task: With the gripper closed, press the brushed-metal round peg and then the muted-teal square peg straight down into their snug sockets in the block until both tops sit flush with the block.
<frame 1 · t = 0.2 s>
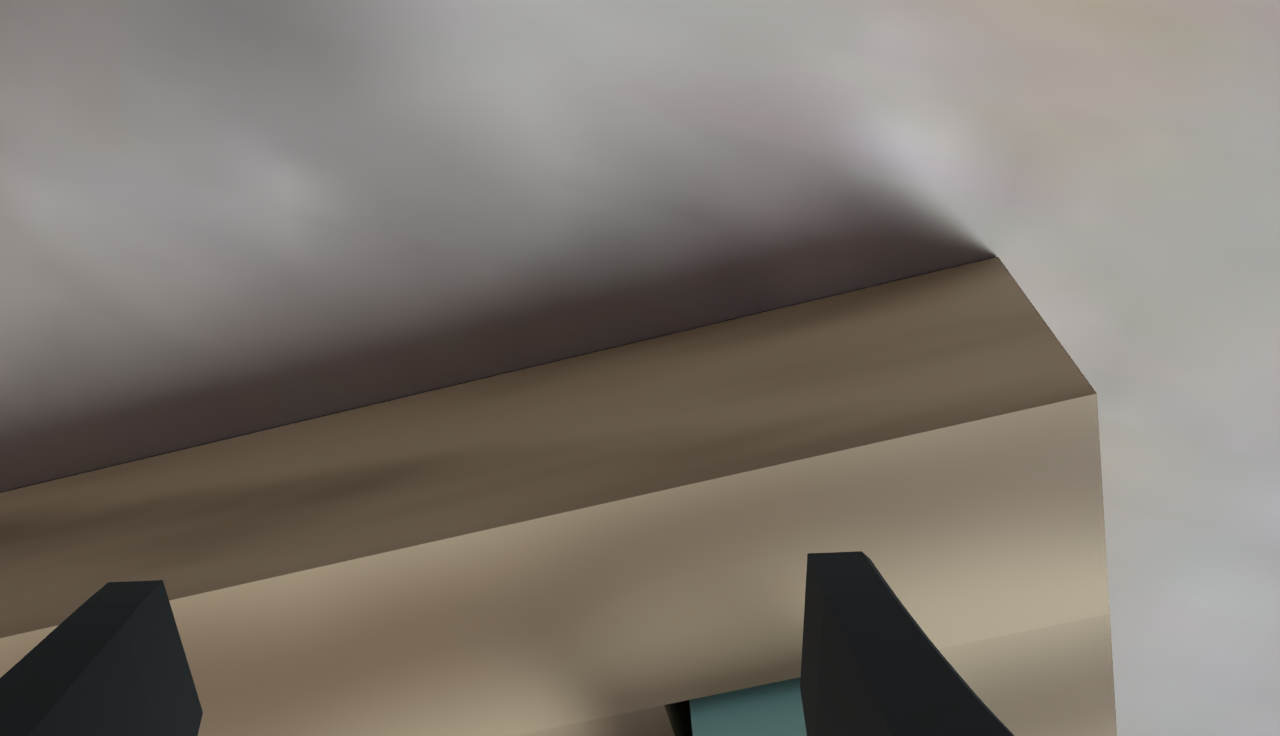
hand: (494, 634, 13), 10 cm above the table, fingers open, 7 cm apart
socket block: (546, 639, 26), on the table
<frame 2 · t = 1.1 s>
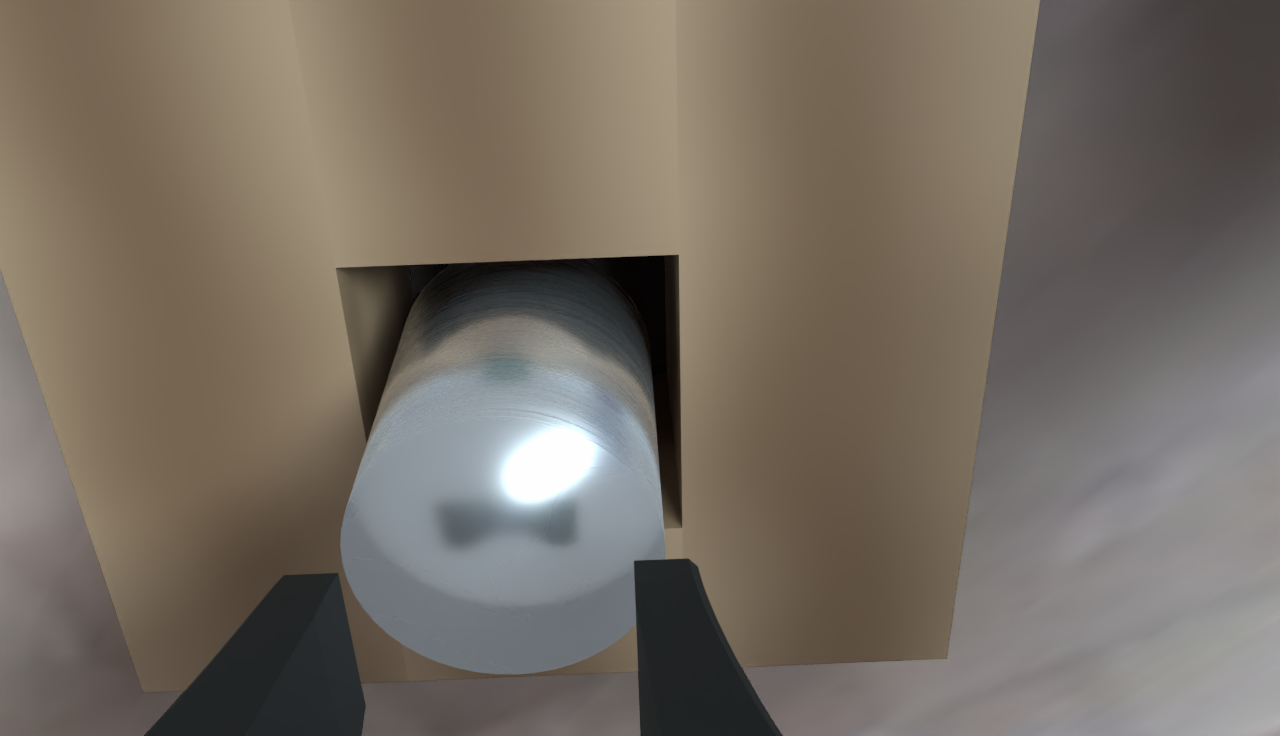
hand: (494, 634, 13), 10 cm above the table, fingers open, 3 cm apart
peg round: (517, 443, 16), point 6 cm above the table, slide at 3.5 cm
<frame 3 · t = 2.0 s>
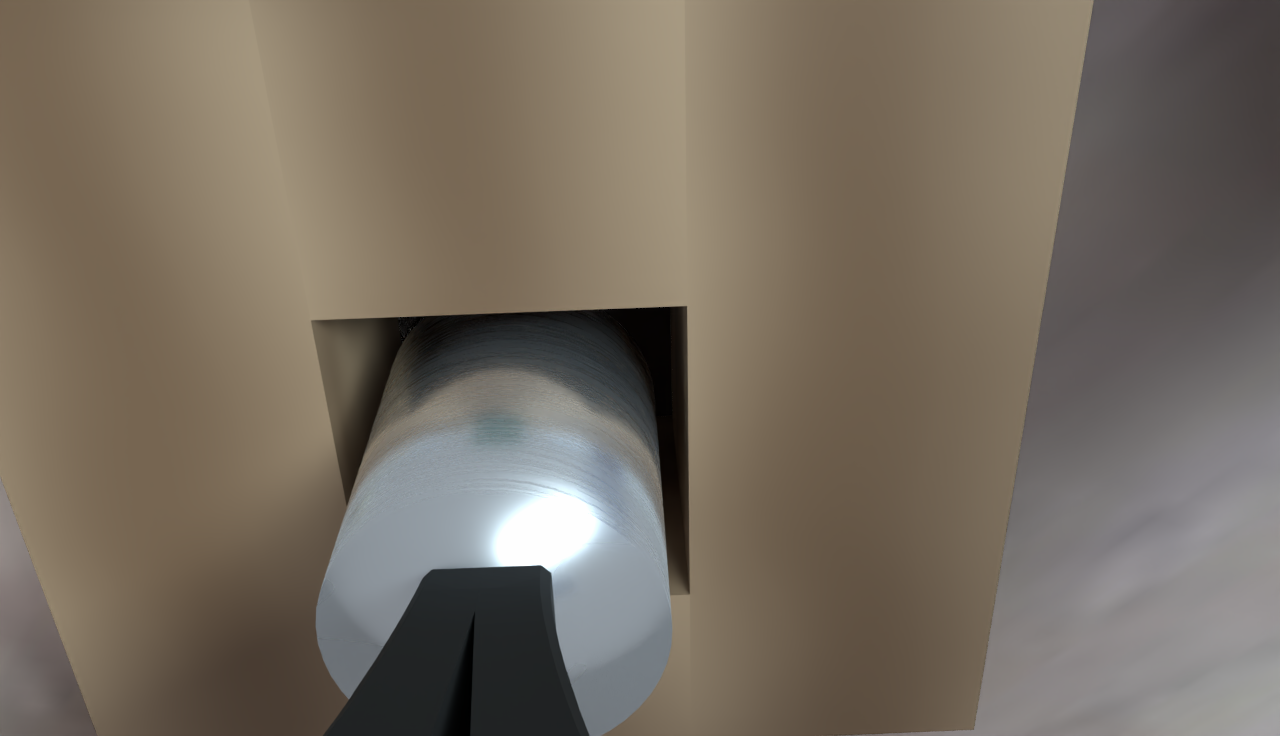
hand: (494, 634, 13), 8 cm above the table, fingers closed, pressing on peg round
peg round: (510, 503, 15), point 6 cm above the table, slide at 3.3 cm, touching gripper
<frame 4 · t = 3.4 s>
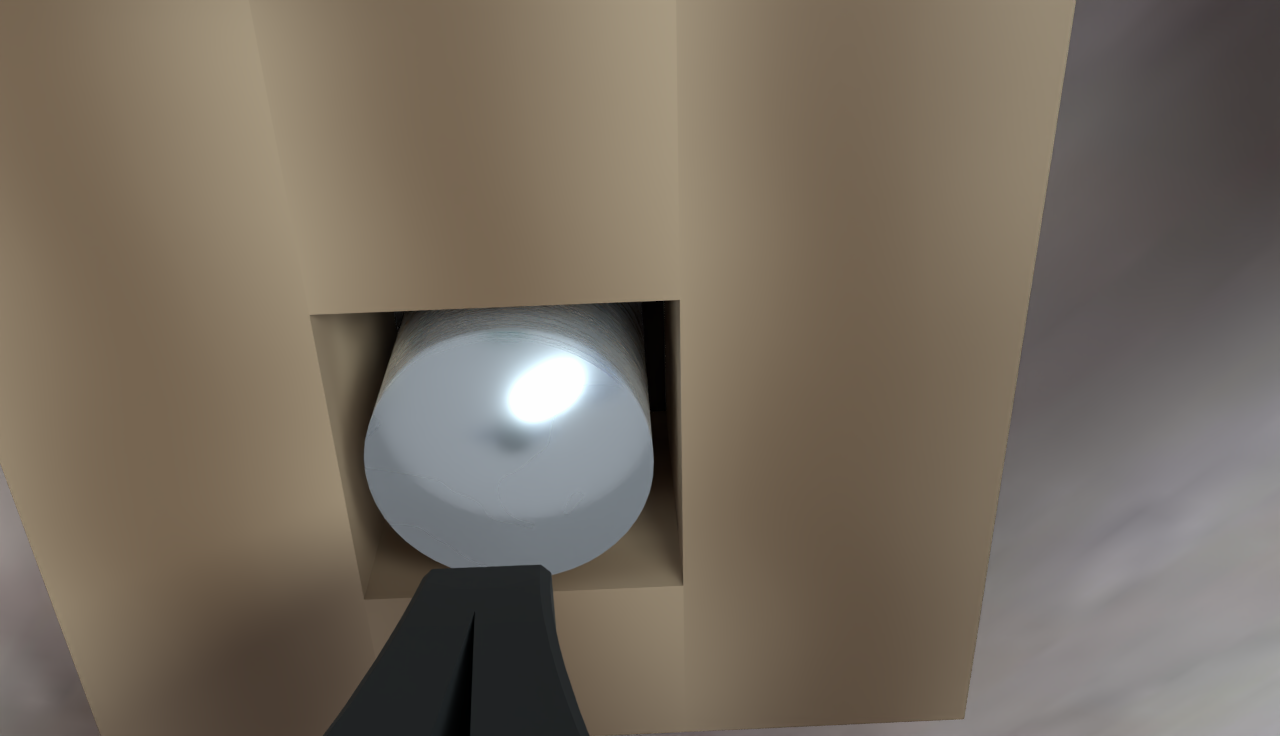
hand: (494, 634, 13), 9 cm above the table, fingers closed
peg round: (520, 376, 18), point 3 cm above the table, slide at 0.2 cm
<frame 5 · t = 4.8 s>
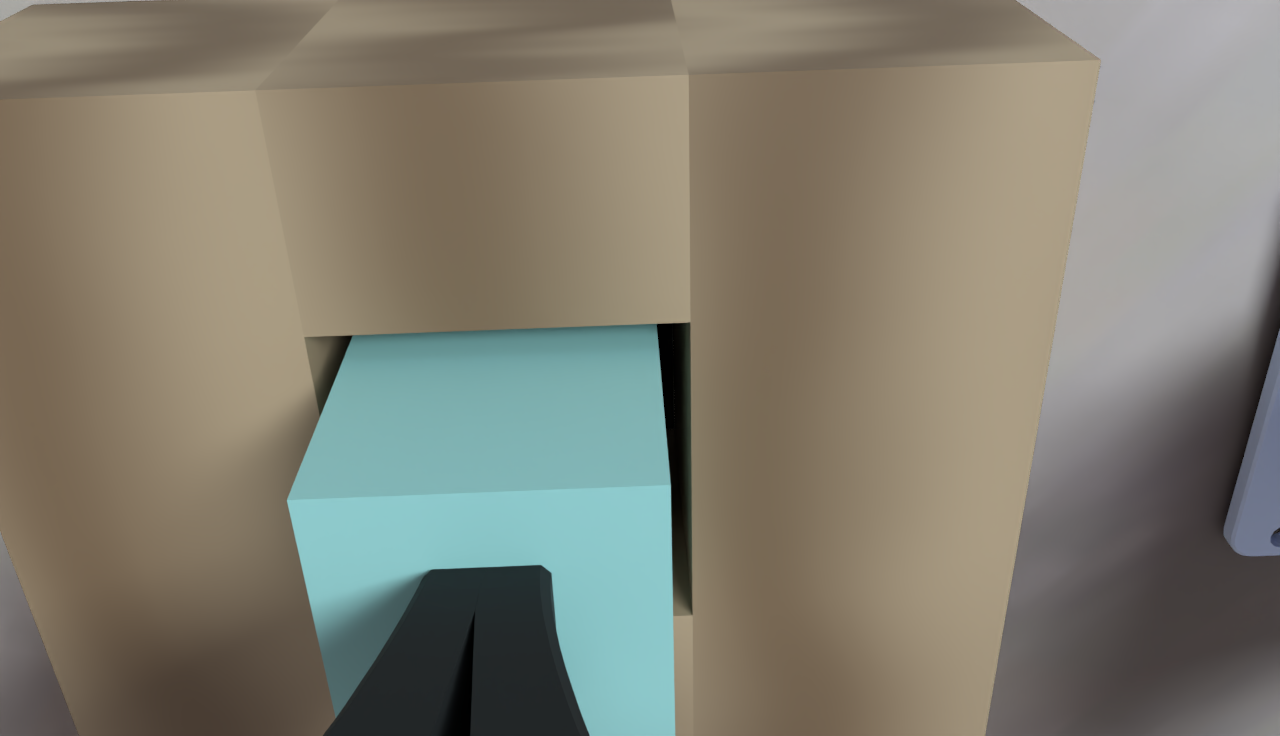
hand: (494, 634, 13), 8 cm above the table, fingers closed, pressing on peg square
peg square: (511, 503, 15), point 5 cm above the table, slide at 2.9 cm, touching gripper
socket block: (554, 566, 23), on the table
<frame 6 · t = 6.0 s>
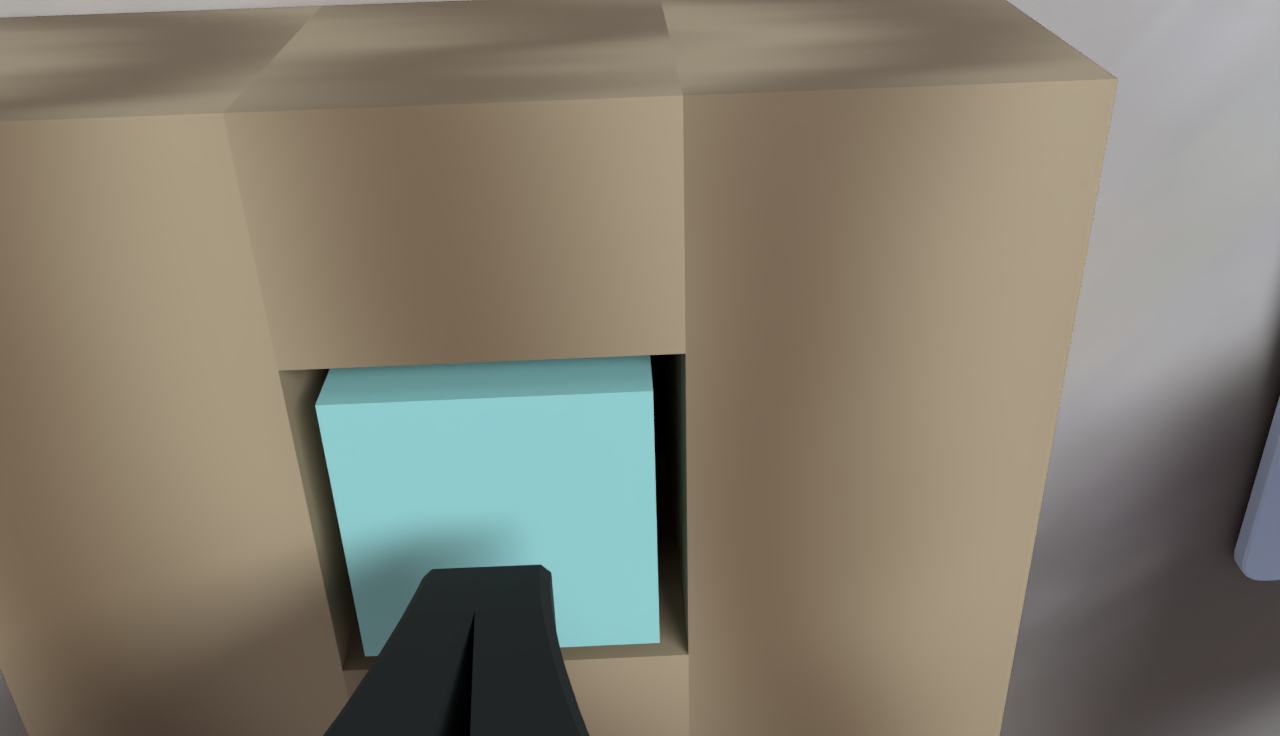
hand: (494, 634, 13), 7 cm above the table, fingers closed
peg square: (511, 426, 17), point 3 cm above the table, slide at 0.2 cm
socket block: (544, 593, 22), on the table
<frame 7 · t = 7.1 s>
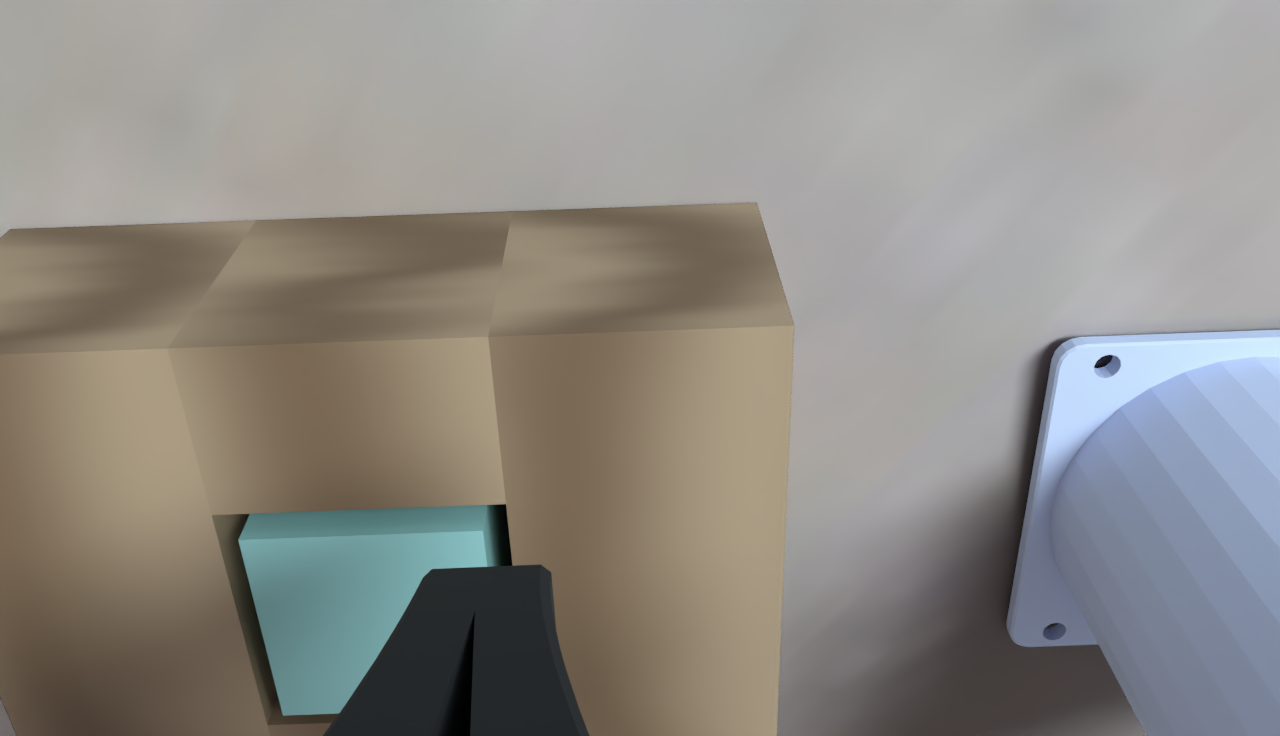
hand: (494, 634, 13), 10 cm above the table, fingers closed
peg square: (400, 537, 22), point 3 cm above the table, slide at 0.2 cm
socket block: (449, 652, 27), on the table
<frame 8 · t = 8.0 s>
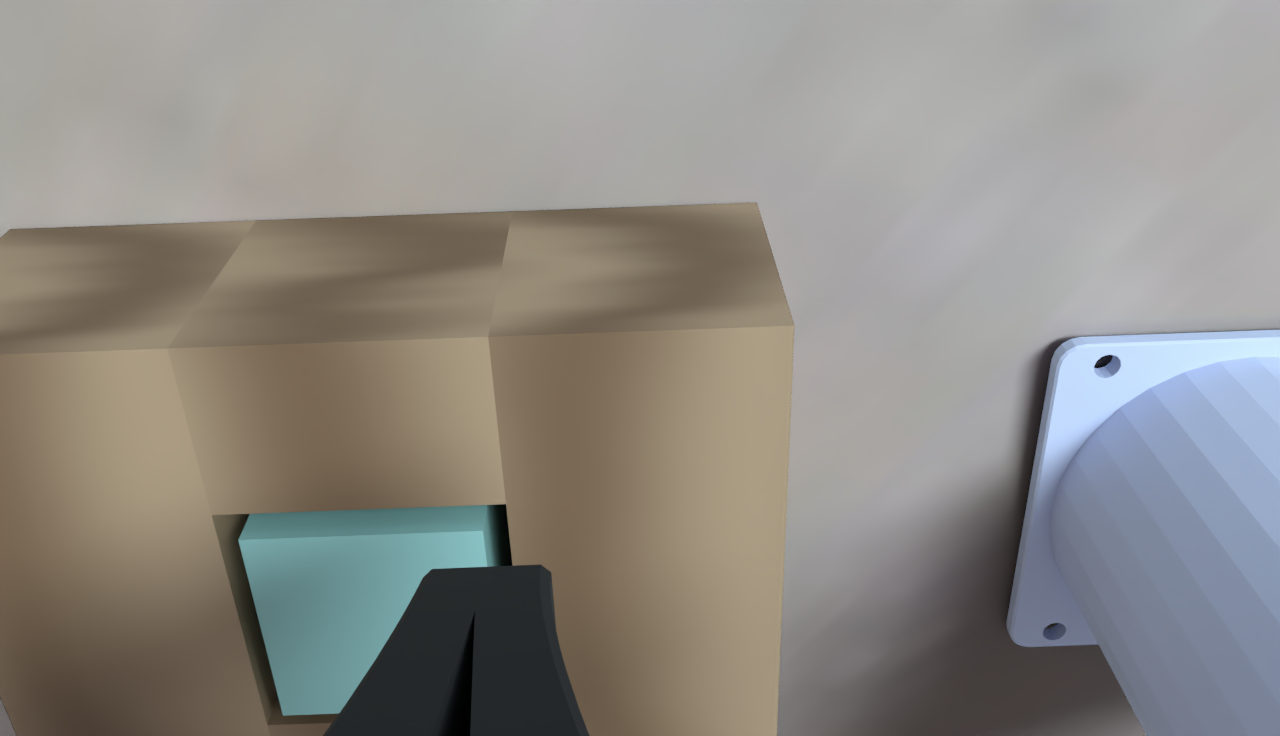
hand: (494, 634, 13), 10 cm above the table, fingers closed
peg square: (400, 537, 22), point 3 cm above the table, slide at 0.2 cm
socket block: (449, 652, 27), on the table
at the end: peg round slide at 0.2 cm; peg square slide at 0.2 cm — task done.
